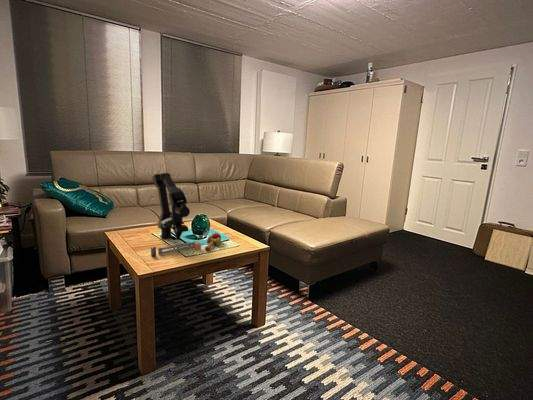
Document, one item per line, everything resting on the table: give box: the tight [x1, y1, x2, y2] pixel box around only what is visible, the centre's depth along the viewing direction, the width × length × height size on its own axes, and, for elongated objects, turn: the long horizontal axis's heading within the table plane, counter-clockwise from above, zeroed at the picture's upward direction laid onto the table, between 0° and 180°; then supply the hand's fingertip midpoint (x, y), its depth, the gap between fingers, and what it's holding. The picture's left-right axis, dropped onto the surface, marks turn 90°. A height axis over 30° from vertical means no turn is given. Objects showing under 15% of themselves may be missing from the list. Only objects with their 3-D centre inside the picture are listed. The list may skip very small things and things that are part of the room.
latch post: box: [193, 241, 202, 252], centre depth 159 cm, size 3×3×4 cm
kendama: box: [204, 232, 222, 253], centre depth 165 cm, size 8×6×18 cm
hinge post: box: [150, 246, 157, 258], centre depth 148 cm, size 2×2×4 cm
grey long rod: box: [157, 241, 195, 256], centre depth 155 cm, size 2×20×3 cm, turn 124°
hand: (177, 239), depth 165 cm, fingers closed
